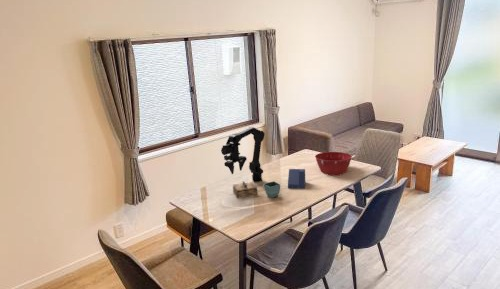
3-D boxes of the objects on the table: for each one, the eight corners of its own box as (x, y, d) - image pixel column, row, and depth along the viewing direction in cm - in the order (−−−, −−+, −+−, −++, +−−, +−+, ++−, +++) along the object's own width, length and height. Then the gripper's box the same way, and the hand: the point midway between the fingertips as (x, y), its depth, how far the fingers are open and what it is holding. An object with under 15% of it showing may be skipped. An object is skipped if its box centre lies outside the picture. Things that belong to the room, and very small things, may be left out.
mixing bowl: (327, 167, 312) (327, 149, 309) (358, 172, 292) (358, 154, 289) (308, 175, 293) (308, 157, 289) (340, 182, 273) (339, 162, 269)
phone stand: (288, 189, 265) (287, 173, 262) (289, 184, 276) (289, 169, 274) (304, 189, 263) (304, 174, 260) (305, 184, 274) (305, 169, 271)
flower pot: (270, 199, 248) (269, 187, 246) (263, 195, 256) (263, 183, 254) (281, 196, 252) (280, 184, 250) (274, 193, 260) (273, 181, 258)
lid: (252, 182, 269) (252, 179, 269) (256, 188, 257) (256, 184, 257) (233, 185, 266) (233, 182, 265) (236, 191, 254) (236, 187, 253)
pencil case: (253, 189, 271) (252, 183, 270) (257, 194, 258) (257, 189, 257) (233, 191, 267) (232, 186, 266) (237, 198, 255) (236, 192, 254)
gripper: (234, 147, 276) (236, 167, 280) (218, 153, 262) (219, 174, 266) (246, 149, 269) (247, 169, 273) (229, 155, 255) (231, 176, 259)
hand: (236, 172), depth 268 cm, fingers open, 9 cm apart
